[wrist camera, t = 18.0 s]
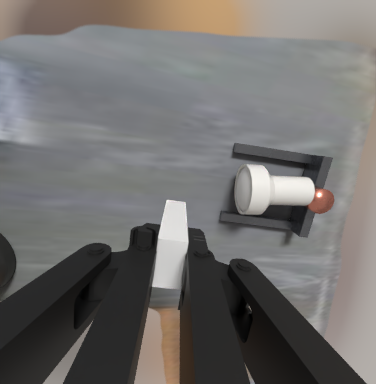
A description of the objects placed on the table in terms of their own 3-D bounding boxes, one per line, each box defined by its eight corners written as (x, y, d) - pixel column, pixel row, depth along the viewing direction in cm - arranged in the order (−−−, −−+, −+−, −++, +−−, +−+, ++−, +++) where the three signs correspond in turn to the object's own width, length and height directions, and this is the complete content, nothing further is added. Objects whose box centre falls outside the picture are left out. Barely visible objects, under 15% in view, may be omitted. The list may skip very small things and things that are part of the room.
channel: (219, 218, 38) (226, 230, 33) (234, 142, 35) (244, 143, 30) (300, 228, 39) (320, 242, 34) (323, 157, 36) (348, 159, 31)
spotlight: (235, 157, 34) (252, 173, 27) (299, 160, 35) (332, 176, 28) (228, 200, 38) (242, 224, 30) (287, 201, 39) (313, 225, 31)
